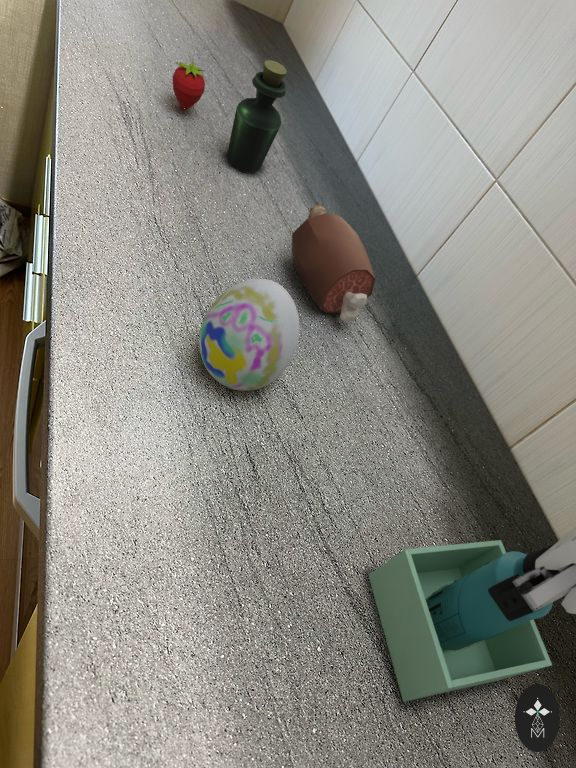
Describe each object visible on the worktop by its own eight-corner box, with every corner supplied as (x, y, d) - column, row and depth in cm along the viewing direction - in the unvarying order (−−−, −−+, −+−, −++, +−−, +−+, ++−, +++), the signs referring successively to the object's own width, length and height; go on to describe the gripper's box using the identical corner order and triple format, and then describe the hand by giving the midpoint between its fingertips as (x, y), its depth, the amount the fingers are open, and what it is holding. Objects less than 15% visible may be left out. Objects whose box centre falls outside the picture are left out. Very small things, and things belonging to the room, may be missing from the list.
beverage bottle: (466, 658, 64) (601, 610, 49) (414, 653, 62) (538, 601, 47) (456, 598, 68) (578, 537, 53) (407, 592, 66) (519, 527, 51)
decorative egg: (171, 353, 75) (198, 272, 63) (235, 318, 82) (269, 239, 71) (235, 419, 72) (275, 346, 61) (295, 376, 80) (340, 304, 69)
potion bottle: (264, 156, 109) (298, 64, 96) (264, 181, 105) (300, 88, 91) (222, 143, 107) (251, 46, 94) (221, 168, 102) (251, 70, 89)
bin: (458, 564, 72) (501, 539, 65) (500, 679, 65) (552, 665, 58) (368, 574, 66) (404, 549, 60) (402, 702, 59) (448, 688, 53)
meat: (372, 332, 91) (404, 288, 84) (310, 335, 86) (338, 288, 78) (326, 243, 101) (351, 196, 93) (268, 241, 95) (289, 191, 87)
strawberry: (169, 118, 105) (180, 65, 98) (165, 95, 109) (175, 42, 102) (200, 125, 108) (213, 73, 100) (195, 102, 112) (207, 51, 104)
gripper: (674, 618, 34) (492, 673, 48) (768, 510, 44) (595, 581, 57) (588, 510, 37) (438, 591, 51) (694, 431, 47) (545, 516, 60)
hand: (523, 585), depth 54 cm, fingers closed on beverage bottle, 6 cm apart
